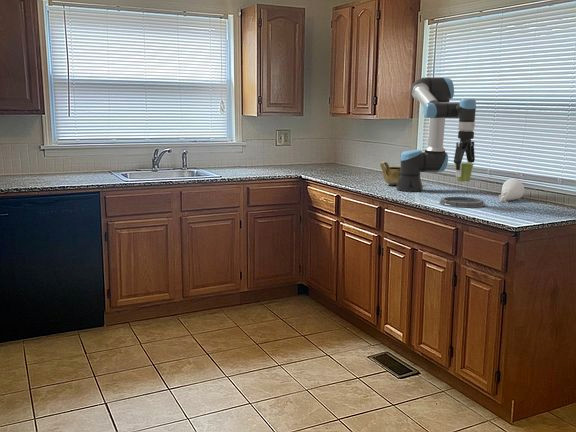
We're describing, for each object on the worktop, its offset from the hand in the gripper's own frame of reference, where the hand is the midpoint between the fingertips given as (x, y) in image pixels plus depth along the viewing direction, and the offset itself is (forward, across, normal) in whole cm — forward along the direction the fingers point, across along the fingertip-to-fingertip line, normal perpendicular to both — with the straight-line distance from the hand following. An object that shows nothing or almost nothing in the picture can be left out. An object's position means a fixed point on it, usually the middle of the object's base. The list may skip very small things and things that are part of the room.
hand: (463, 175), depth 296 cm
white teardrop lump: (+15, +29, -10) cm, 34 cm away
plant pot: (+3, 0, 0) cm, 3 cm away
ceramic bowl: (+15, +36, +65) cm, 76 cm away
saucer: (+14, 0, 0) cm, 14 cm away
